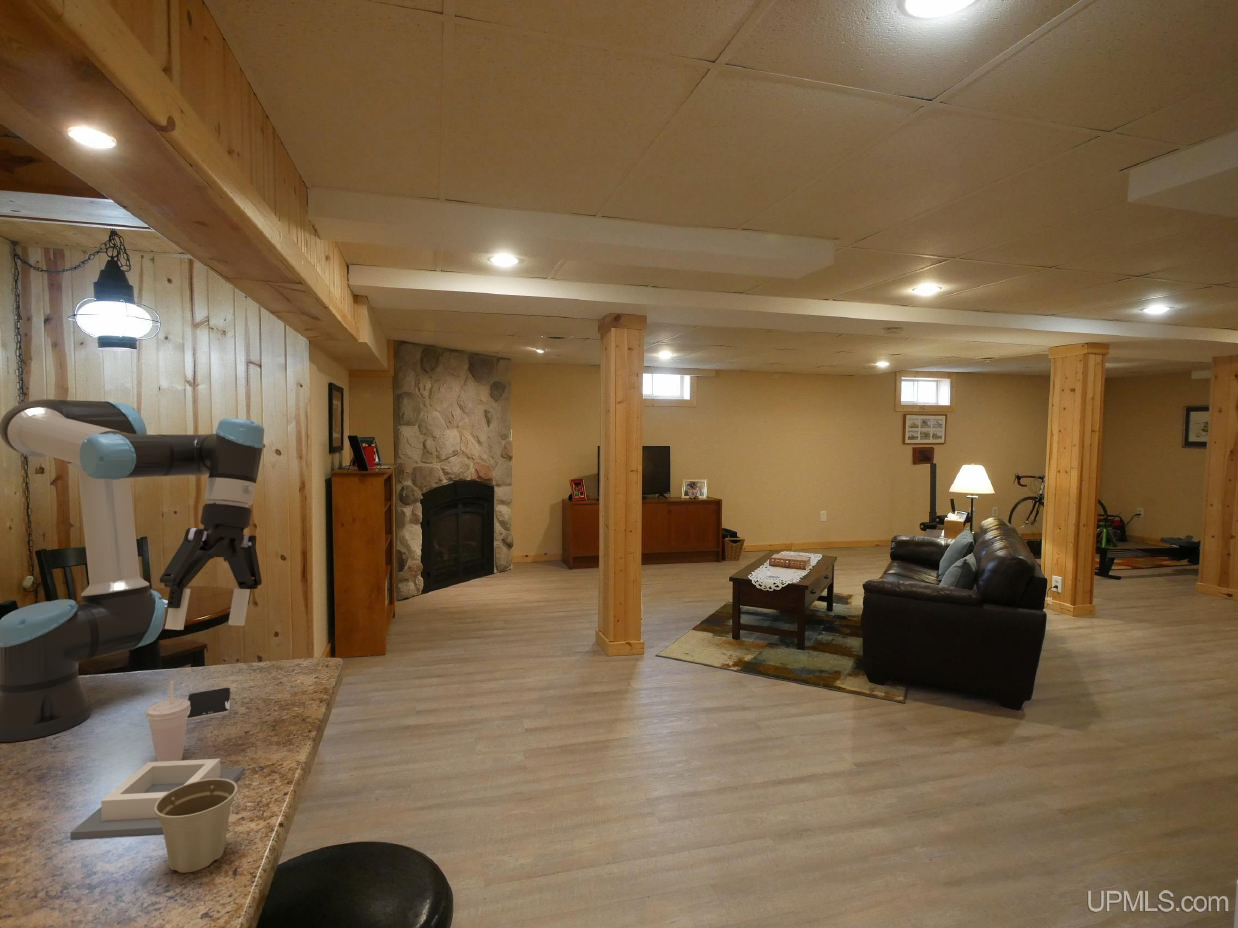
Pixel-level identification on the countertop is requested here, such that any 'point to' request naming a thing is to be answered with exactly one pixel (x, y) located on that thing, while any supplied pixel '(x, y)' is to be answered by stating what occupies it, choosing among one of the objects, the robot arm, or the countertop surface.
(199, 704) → the smartphone
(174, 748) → the smoothie
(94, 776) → the countertop surface
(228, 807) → the flower pot
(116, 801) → the socket
